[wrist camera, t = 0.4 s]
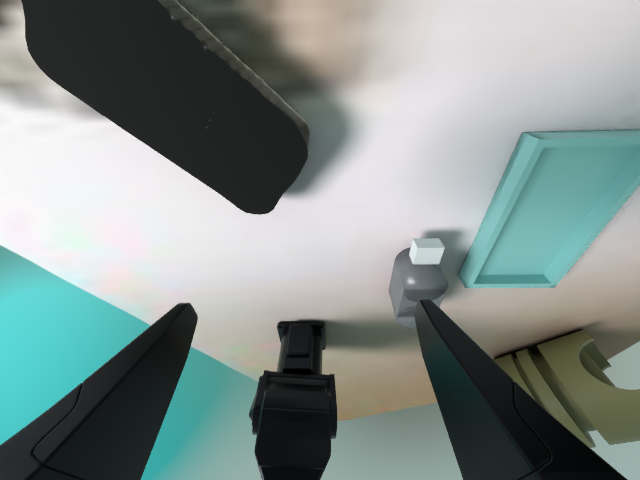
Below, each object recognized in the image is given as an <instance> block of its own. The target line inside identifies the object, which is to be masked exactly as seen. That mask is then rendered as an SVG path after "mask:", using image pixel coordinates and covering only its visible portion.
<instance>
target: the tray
mask: <svg viewBox="0 0 640 480" xmlns="http://www.w3.org/2000/svg"><path fill="white" fill-rule="evenodd" d="M639 185H640V129H629V130H592V131H554V132H522V135H521V137H520V139H519V141H518V143H517V146H516V148H515V150H514V152H513V155H512V157H511V159H510V161H509V164H508V166H507V168H506V170H505V172H504V175H503V177H502V179H501V181H500V184H499V186H498V188H497V190H496V193H495V195H494V197H493V199H492V202H491V204H490V206H489V208H488V210H487V213H486V215H485V217H484V219H483V222H482V224H481V226H480V228H479V231H478V233H477V235H476V237H475V239H474V242H473V244H472V246H471V248H470V251H469V253H468V255H467V257H466V260H465V262H464V264H463V266H462V269H461V271H460V273H459V275H458V276H459V278H460V279H461V281H462V283H463V285H464V286H465V288H554V287H556V285H557V284H558V283H559V282H560V280H561V279H562V278H563V277H564V276H565V274H566V273H567V272H568V271H569V270H570V268H571V267H572V266H573V265H574V263H575V262H576V261H577V260H578V259H579V257H580V256H581V255H582V254H583V253H584V251H585V250H586V249H587V248H588V247H589V245H590V244H591V243H592V242H593V240H594V239H595V238H596V237H597V236H598V234H599V233H600V232H601V231H602V230H603V228H604V227H605V226H606V225H607V223H608V222H609V221H610V220H611V219H612V217H613V216H614V215H615V214H616V213H617V211H618V210H619V209H620V208H621V207H622V205H623V204H624V203H625V202H626V200H627V199H628V198H629V197H630V196H631V194H632V193H633V192H634V191H635V190H636V188H637V187H638V186H639Z"/></svg>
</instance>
